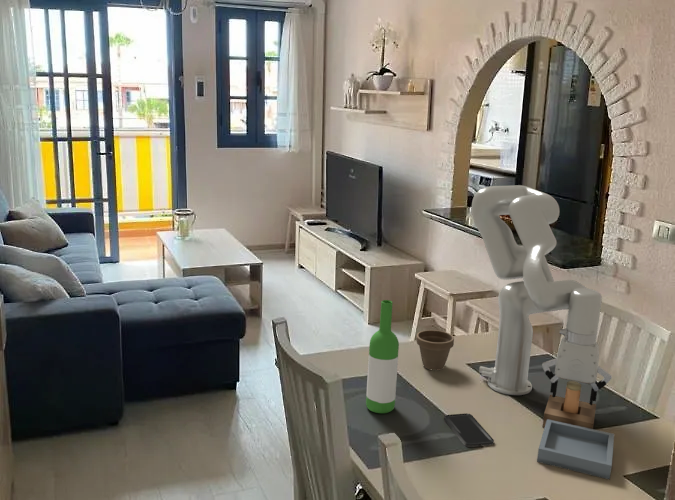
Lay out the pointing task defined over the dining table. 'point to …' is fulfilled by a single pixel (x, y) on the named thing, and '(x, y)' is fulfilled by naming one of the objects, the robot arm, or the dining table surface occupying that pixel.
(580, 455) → the tray
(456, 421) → the phone
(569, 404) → the peg
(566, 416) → the pin block
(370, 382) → the wine bottle
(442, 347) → the flower pot
